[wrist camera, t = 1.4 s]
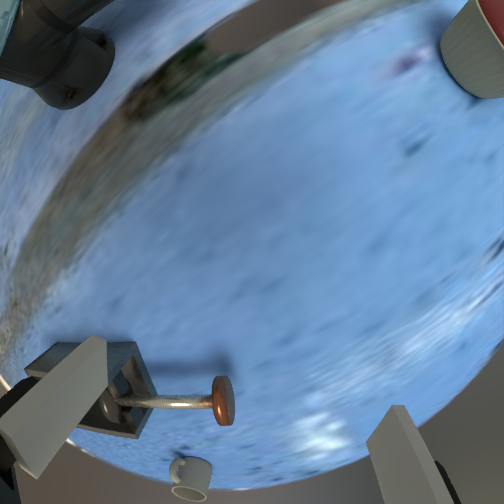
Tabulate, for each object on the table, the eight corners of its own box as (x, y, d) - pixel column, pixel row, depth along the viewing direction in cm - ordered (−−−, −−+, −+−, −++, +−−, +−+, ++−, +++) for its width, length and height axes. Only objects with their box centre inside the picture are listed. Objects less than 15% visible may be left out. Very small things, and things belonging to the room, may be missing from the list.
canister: (411, 14, 27) (467, -49, 6) (481, 40, 26) (542, 5, 5) (439, 103, 30) (531, 63, 10) (506, 121, 29) (585, 107, 8)
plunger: (225, 360, 36) (216, 398, 28) (237, 402, 37) (232, 440, 29) (115, 364, 37) (91, 393, 30) (133, 402, 39) (115, 432, 31)
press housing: (135, 341, 41) (103, 379, 30) (159, 397, 43) (137, 439, 32) (56, 342, 42) (23, 368, 32) (80, 391, 45) (54, 421, 34)
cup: (196, 474, 48) (189, 502, 39) (165, 452, 47) (154, 481, 38) (219, 468, 47) (213, 499, 38) (187, 446, 46) (177, 477, 37)
